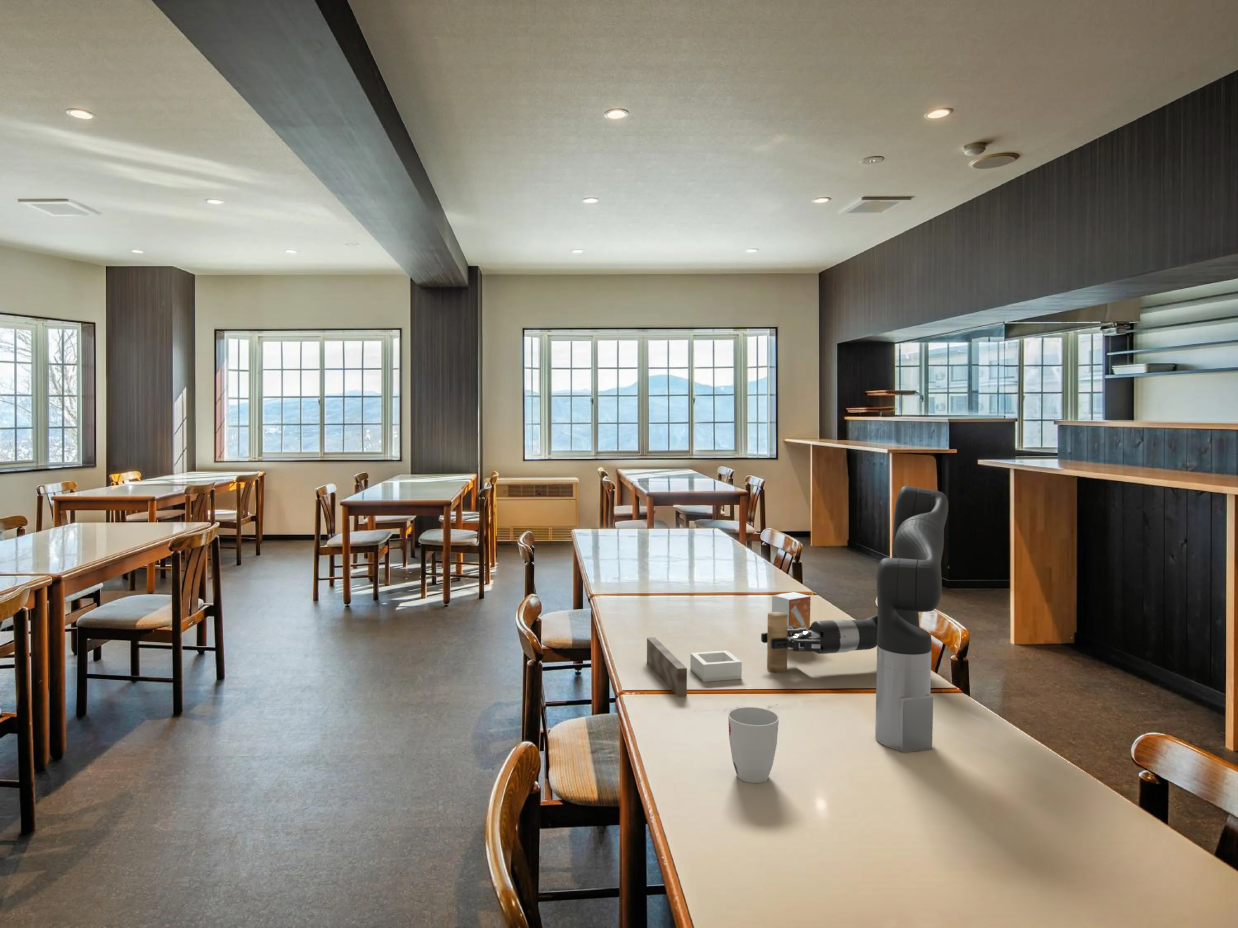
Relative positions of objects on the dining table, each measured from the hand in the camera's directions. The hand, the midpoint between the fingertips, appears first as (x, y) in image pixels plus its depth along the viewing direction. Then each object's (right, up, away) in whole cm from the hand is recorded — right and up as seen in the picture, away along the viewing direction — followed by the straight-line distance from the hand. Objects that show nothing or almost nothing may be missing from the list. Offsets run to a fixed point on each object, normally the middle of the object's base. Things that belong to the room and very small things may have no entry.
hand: (766, 640), depth 176 cm
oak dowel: (+3, -8, +1) cm, 8 cm away
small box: (+11, -7, +26) cm, 29 cm away
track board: (-15, -8, -3) cm, 17 cm away
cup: (-12, -11, -51) cm, 53 cm away
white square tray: (-12, -7, -2) cm, 14 cm away
